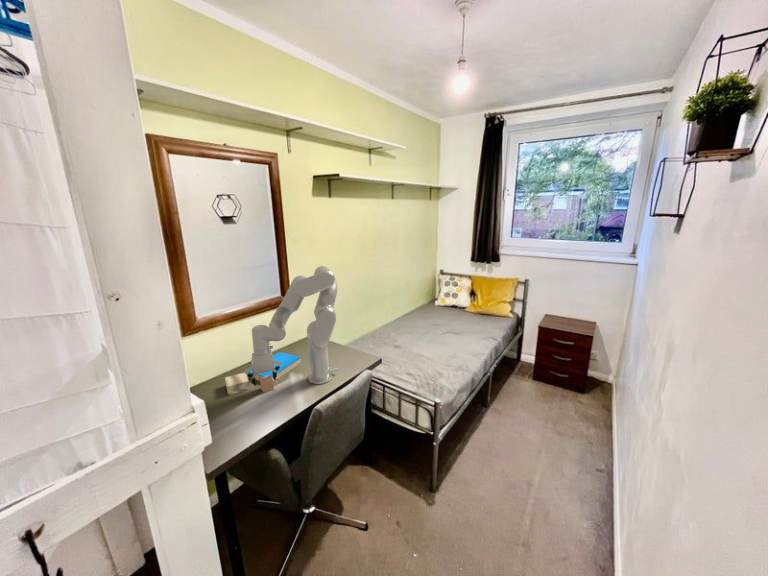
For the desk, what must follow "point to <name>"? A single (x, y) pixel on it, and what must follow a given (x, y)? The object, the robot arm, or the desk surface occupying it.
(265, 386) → the block
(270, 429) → the desk surface
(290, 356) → the book
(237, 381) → the base
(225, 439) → the desk surface
